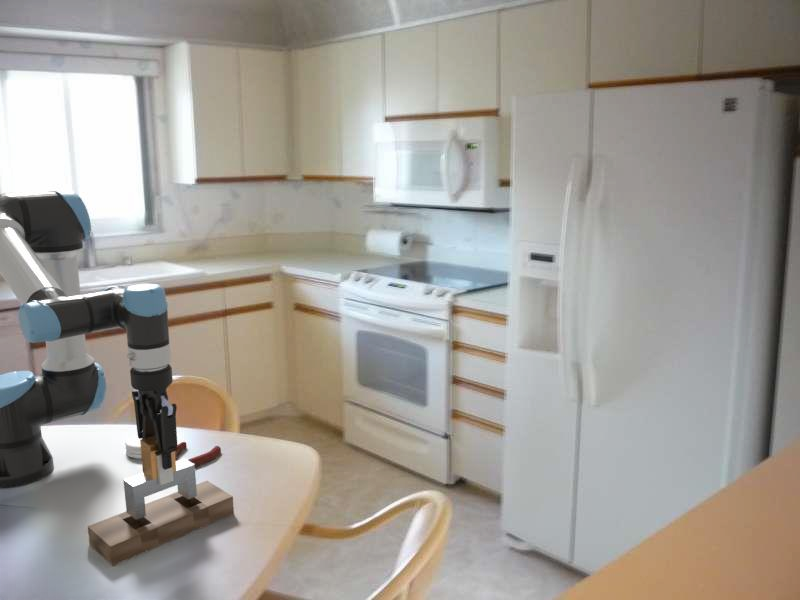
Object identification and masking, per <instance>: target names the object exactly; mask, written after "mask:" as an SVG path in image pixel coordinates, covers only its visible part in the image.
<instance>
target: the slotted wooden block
mask: <svg viewBox="0 0 800 600" xmlns="http://www.w3.org/2000/svg"><path fill="white" fill-rule="evenodd" d="M196 490H197V496H196V497H193V498H191V499H187V498H185V497H184V496H182V495H181V494H179V493H178V491H175V492H173V493H171V494H168V495H165V496H163V497H161V498H158V499H155V500H153V501H150V502H147V503H145V510H146V516H145V517H143V518H140V519H137V520H136V519H134V518H133V517H132V516H130V515H129V514H128V513H127V511H126V510H125V511H124V512H120V513H119V514H115V515H113V516H111V517H108V518H106V519H103V520H100V521H98V522H95V523H93V524H90V525H87V532H88V543H89V545H90V547H91V548H92V549H94V550H95V551H96V552H97V553H98V554H99V555H100V556H101V557H102V558H103V559H104V560H106V561H107V562H108V564H110V565H111V566H112V567H113V566H116V565H118V564H120V563H123V562H125V561H127V560H131V559H132V558H134V557H137V556H139V555H141V554H143V553H147V552H148V551H151V550H153V549H155V548H158V547H160V546H162V545H165V544H167V543H169V542H172V541H174V540H177V539H178V538H181V537H183V536H185V535H189V534H190V533H193V532H195V531H198V530H200V529H202V528H204V527H207V526H209V525H211V524H213V523H216V522H218V521H220V520H223V519H225V518H228V517H230V516H232V515H234V514H235V511H234V510H235V509H234V497H233V495H232V494H230V493H228V492H227V491H225V490H223V488H220V487H219V486H217V485H215V484H213V483H212V482H210V481H208V480H205V481H202V482H200V483H196Z"/></svg>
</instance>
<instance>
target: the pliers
mask: <svg viewBox="0 0 800 600" xmlns="http://www.w3.org/2000/svg"><path fill="white" fill-rule="evenodd" d="M177 447H178V450H177V451H175V459H176V460H177V459H178V456H179V455H180V454H181V453H182V452H184V451H185V450H186V449H187V442H186V441H182V442H180V443H177ZM221 453H222V448H221V447H220V446H218V445H215V446H214V447H213V448H212V449H211V450H209V451H208V452H205V453H202V454H200V455H196V456H194V457H192V458H191V457H190V458H188V459H187V460H188V461H190V462H191V463H193V464H195V468H197V467H200V466H201V465H205V464H207V463H210V462H212V461H214V460H216V458H218V457H219V456H220V455H221Z"/></svg>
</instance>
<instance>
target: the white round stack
mask: <svg viewBox="0 0 800 600" xmlns="http://www.w3.org/2000/svg"><path fill="white" fill-rule="evenodd" d="M141 439H142V438H141ZM141 439H139V438H138V433H137V432H136V433H134V434H132V435H131V436H130V435H129V436H128V438H127V439H125V443H124V445H125V450H126V451H125V453H126V455H127V457H130V458H132V459H135V460H136V459H137V460H142V456H141V445H140V440H141Z"/></svg>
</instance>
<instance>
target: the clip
mask: <svg viewBox="0 0 800 600" xmlns="http://www.w3.org/2000/svg"><path fill="white" fill-rule="evenodd" d="M140 445H141V456H142V459H141V463H142V464H141V465H142V472H141V473H138V474H135V475H133V476H129V477H127V478H124V479H123V488H124V489H123V491H124V499H125V512H126V511H127V513H128V514H129V515H130V516H132V517H133V518H134V519H136V520H137V519H140V518H143V517H145V516H146V510H145V504H146V501H145V500H146V499H145V498H146V497H149V496H152V495H155V494H157V493H159V492H160V493H161V492H162V491H166V490H167V489H170V488H172V487H175V486H177V492H178V493H179V494H181V495H182V496H184V497H185V498H187V499H191V498H193V497H196V496H197V490H196V485H197V477H196V467H195V464H193V463H191V462H190V461H188V459H186V458H182V459H179V460H177V459H175V451H174V452H171V455H172V467H173V480H174V481H171V482H169V483H166V484H163V485H159V479H158V467H157V456H156V454H155V452H158V446H157V440H156V435H153V436H150V437H147V438H144V439H141V440H140Z"/></svg>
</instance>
